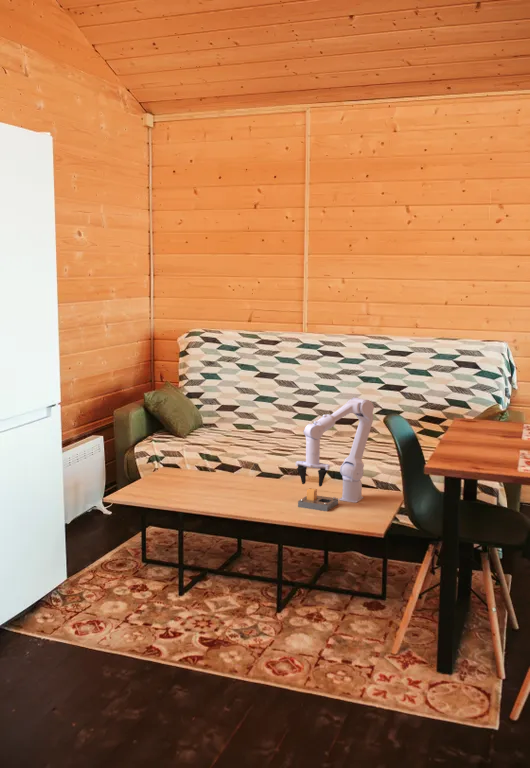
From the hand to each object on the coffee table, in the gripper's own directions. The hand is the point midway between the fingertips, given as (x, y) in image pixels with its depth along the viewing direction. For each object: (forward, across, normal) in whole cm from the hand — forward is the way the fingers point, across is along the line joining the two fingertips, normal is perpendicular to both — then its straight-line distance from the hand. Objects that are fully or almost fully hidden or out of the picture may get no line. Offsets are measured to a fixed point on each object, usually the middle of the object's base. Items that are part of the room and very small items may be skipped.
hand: (312, 484), depth 324 cm
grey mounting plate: (+8, +3, 0) cm, 9 cm away
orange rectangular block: (+8, 0, 0) cm, 9 cm away
